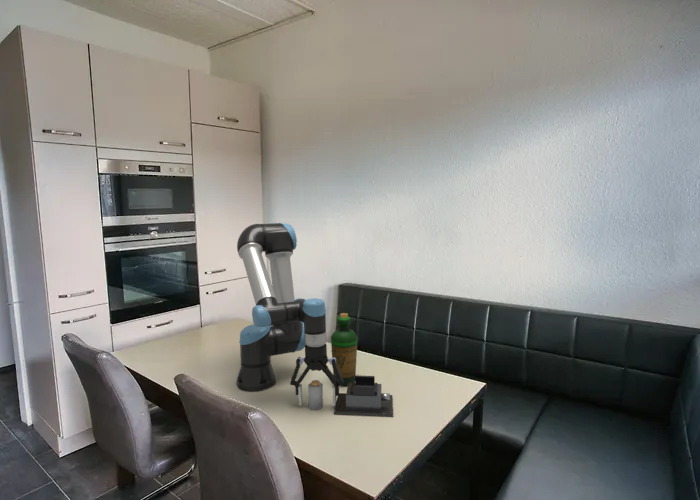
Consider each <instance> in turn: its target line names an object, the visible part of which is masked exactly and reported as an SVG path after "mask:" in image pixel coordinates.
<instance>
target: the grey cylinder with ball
mask: <svg viewBox="0 0 700 500" xmlns="http://www.w3.org/2000/svg"><path fill="white" fill-rule="evenodd" d="M307 385H308V387H307V388H308V409H310V410H311V411H320V410H322V409H323V407H324V394H323V393H324V389H323V387H324V386H323V383H322V382H320V380H318V379H313V380H311V382H309V383H308V384H307Z"/></svg>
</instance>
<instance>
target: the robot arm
mask: <svg viewBox="0 0 700 500" xmlns="http://www.w3.org/2000/svg"><path fill="white" fill-rule="evenodd" d="M297 243H298V240H297V234H296V231H295V229H294V228H293V226H292V225H291V224H289V223H281V222H279V223H277V222H276V223H275V222H274V223H254V224H250V225H249V226H247V227H245V228H244V230H242V232H241V233H240V234H239V237H238V239H237V242H236V244H237V245H236V249H237V254H238V256H239V259H241V260H242V263H243V266H244V268H245V272H246V275H247V278H248V283H249V286H250V289H251V293H252V297H253V300H254V303H255V305H254V306H253V307H252V310H251V316H252V322H253V323H252V324H250V325H247V326H245V327H243V328H242V330H241V331H240V333H239V342H238V343H239V346H240V347H239V352H240V353H239V354H240V368H239V371H238V375H237V378H236V387H237V389H239V390H241V391H244V392H260V391H265V390H268V389H270V388H272V387H273V386H274V385H275V384H276V383H277V381H276V379H277V378H276V374H275V371H274V368H273V366H272V359H271V357H272V356H278V355H286V354H290V353H291V354H292V353H296V352H300V351H302V350H303V349H304V357H300V356H298V357H297V358H296V360H295V368H294V370H293V374H292V377H291V379H290V382H289V385H290V386H294V388H295V396H298V406H302V405H303V399H304V398H303V397H304V396H303V384H302V381H303V380H304V379H305V377H306V376H307V375H308V373H309V371H311V372H313V371H317V372H320V371H322V373H324V374H325V376H326V377H327V379H328V380H329V381H330V382H331V384H332V401H333V402H332V406H333V407H335V406H336V401H337V397H338V395H339V393H340V387H344V386H343V384H344V380H343V378H342V375H341V373H340V371H339V368H338V366H337V364H336V357H333V358H332V357H328V351H327V350H328V349H327V344H326V343H327V326H326V325H327V324H326V321H327V320H326V319H327V318H326V317H327V315H326V314H327V313H326V312H327V310H326V309H327V308H326V303H325V301H324V299H322V298H307V299H306V298H299V297H298V298H295V291H294V290H295V289H294V283H293V281H294V280H293V273H292V266H291V265H292V264H291V257H292V256H293V255H294V250H296V248H297V246H298V245H297ZM263 253H264V254H265V255H264V256H265V258H266V259H268V260H269V266H270V267H269V269H270V275H269V273H268V270H267V267H266V264H265V260H264V258H263ZM270 276H271V277H270ZM270 278H271V279H270ZM303 363H304V364H305V365H306V367H305V369H304V370H303V372H302V373H301V375H300V376H299V378H298V379H297V376H298V374H299V371H300V368H301V365H303ZM328 363H329V364H330V365H331V367H332V371H333V370H334V372H335V374H336V377H337V379H338V381H337V379H336V378H335V377H334V375H333V372H332V371H331V369H330V368H329V367H328V365H327V364H328ZM296 379H297V380H296Z"/></svg>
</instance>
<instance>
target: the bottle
mask: <svg viewBox="0 0 700 500" xmlns="http://www.w3.org/2000/svg"><path fill="white" fill-rule="evenodd" d="M336 323H337V324H338V329H335V331H333V332H332V334H331V335H330V347H331V358H333V357H336V364H337V366H338V368H339V371H340V373H341V375H342V378H343V380H344V384H343V386H342V387H348V383H352V382H355V375H356V374H357V373H356V372H357V356H358V355H357V354H358V338H359V337H358V335H357V334H356V332H355V331H354V330H353V329H351V328H350V325H351V323H352V321H351V317H350V316H349V313H348V312H347V313H346V312H342V313H339V316H338V317H337V321H336ZM332 371H333V372H332V374H333V375H334V377H335V378H336V379H337V377H336V374H335V372H334V370H333V369H332ZM337 381H338V379H337Z"/></svg>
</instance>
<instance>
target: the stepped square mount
mask: <svg viewBox="0 0 700 500" xmlns="http://www.w3.org/2000/svg"><path fill="white" fill-rule="evenodd" d="M393 400H394V399H393V394H391V393H385V392H383V393H382V383H378V382H376V381H375V375H359V374H358V375H355V382H352V383H348V386H347V390H346V393H345V392H343V393H342V392H339V395H338V396H336V406H334V409H333V415H334V416H357V417H358V416H361V417H386V418H393V417H394V407H393V406H394V405H393V404H394V403H393Z"/></svg>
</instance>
